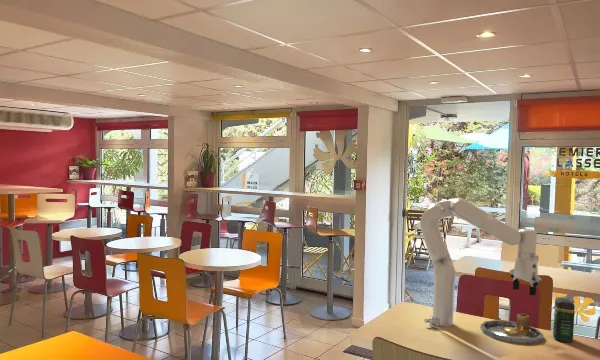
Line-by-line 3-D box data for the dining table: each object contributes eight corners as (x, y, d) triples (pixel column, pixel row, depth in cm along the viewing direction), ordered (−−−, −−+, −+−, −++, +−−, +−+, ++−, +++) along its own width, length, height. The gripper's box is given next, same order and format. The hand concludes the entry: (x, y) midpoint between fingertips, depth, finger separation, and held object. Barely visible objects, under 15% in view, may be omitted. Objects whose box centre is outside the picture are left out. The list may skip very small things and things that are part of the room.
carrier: (510, 350, 197) (511, 335, 197) (469, 330, 221) (470, 316, 221) (554, 344, 206) (555, 329, 206) (510, 325, 230) (511, 312, 230)
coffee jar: (574, 344, 207) (576, 303, 207) (554, 341, 210) (556, 300, 210) (570, 337, 216) (572, 297, 216) (551, 334, 219) (553, 295, 219)
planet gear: (522, 335, 212) (523, 318, 212) (511, 330, 218) (512, 313, 218) (534, 334, 214) (534, 316, 214) (522, 329, 221) (523, 312, 221)
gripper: (548, 259, 209) (545, 296, 209) (517, 252, 225) (515, 287, 225) (535, 259, 206) (533, 297, 207) (505, 252, 222) (503, 287, 223)
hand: (523, 292), depth 216 cm, fingers open, 9 cm apart
